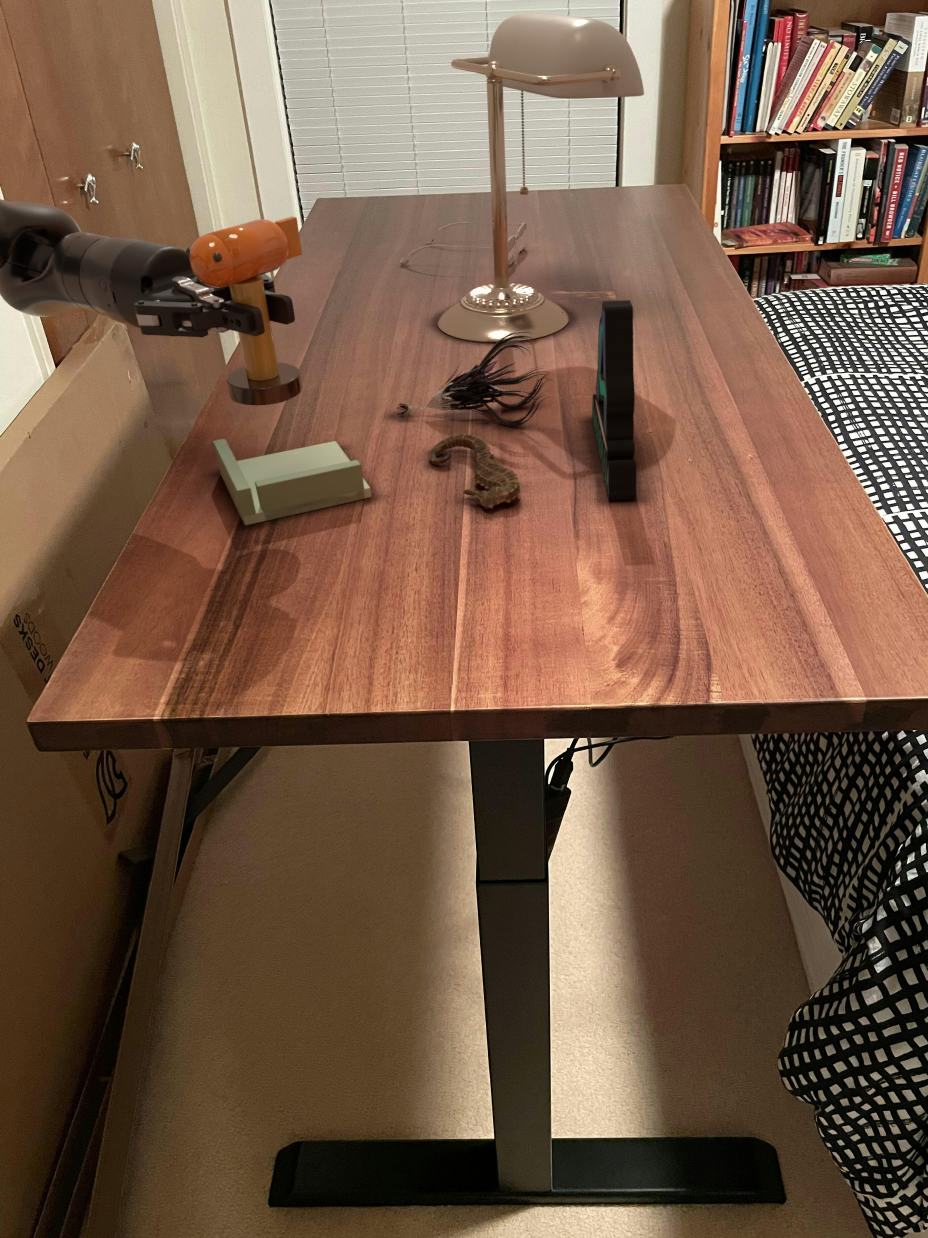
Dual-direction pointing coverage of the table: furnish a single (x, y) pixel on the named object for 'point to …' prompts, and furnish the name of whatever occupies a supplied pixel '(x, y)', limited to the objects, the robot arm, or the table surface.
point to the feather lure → (484, 387)
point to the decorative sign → (615, 400)
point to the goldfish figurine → (251, 300)
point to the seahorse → (482, 470)
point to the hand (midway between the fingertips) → (274, 316)
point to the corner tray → (290, 481)
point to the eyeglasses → (510, 245)
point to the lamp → (545, 65)
